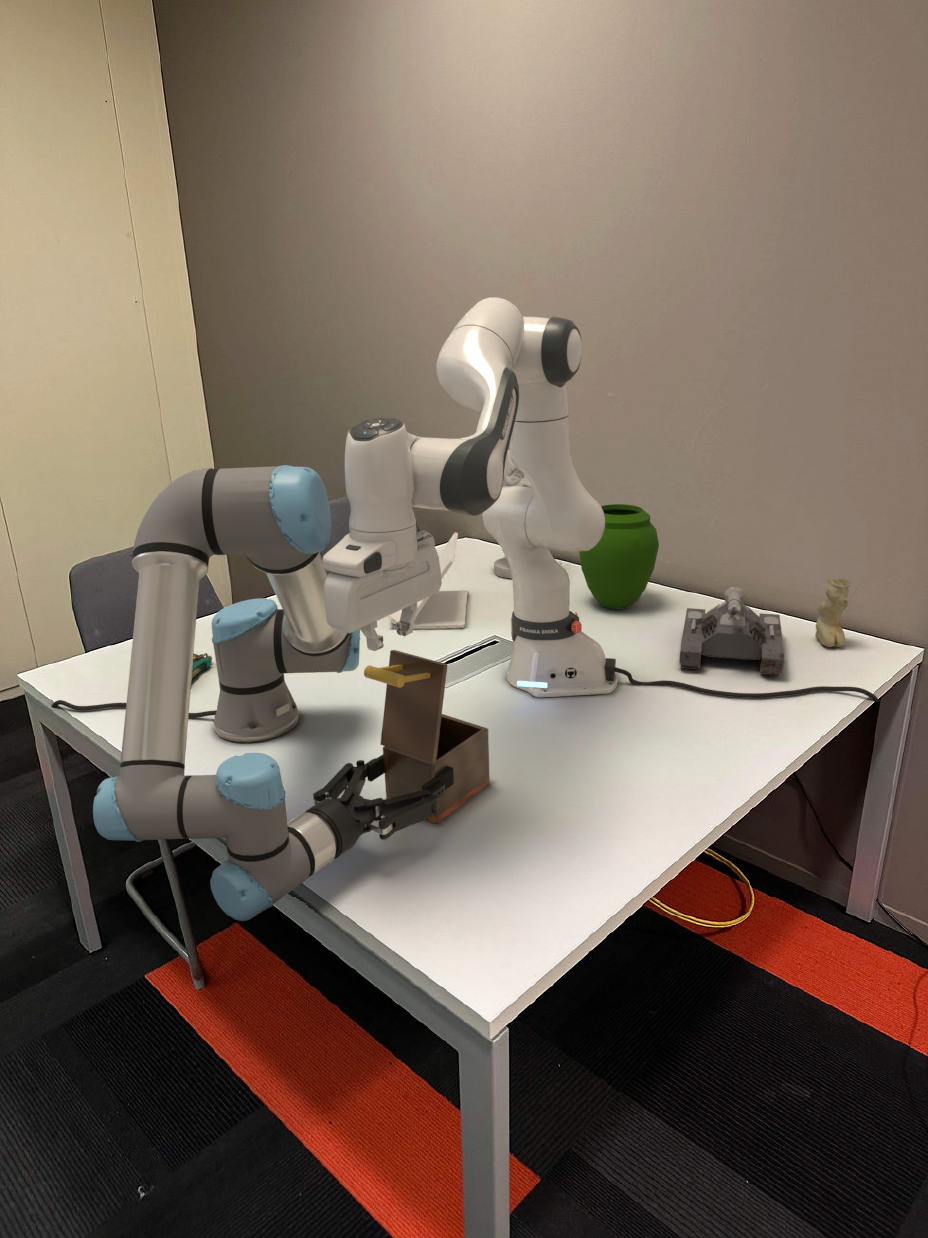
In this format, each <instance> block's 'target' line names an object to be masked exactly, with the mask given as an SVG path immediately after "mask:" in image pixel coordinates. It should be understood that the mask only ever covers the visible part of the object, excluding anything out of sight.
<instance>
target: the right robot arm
mask: <svg viewBox="0 0 928 1238" xmlns="http://www.w3.org/2000/svg"><path fill="white" fill-rule="evenodd" d="M582 357H583V341H582V334H581V331H580V329H579V328H578V327H577V325H576V324H575V323H574V322H573V320H570V319H569V318H565V317H558V316H551V317H550V318H549V317H541V316H540V317H539V316H523V315H522V313H521V311H520V310H519V308H518V307H517V306H516V305H515V304H514V303H512V302H511V301H510V300H508V299H505V298H502V297H499V296H489V297H486V298H483V299H481V300H479V301H478V302H477V303H476V304H474V305H473V306H472V307H471V308H470V309H469V310H468V311H467V312H466V313H465V314H464V315H463V316H462V317H461V318H460V319H459V320H458V322H457V323H456V325H455V326H454V327H453V328H452V330H451V332H450V333H449V335H448V337H447V338H446V340H445V341H444V343H443V344H442V346H441V349H440V350H439V354H438V356H437V359H436V367H435V368H436V369H435V371H436V376H437V380H438V383H439V385H440V387H441V389H442V391H443V392H444V393H445V395H446V396H447V397H448V398H449V399H450V400H451V401H452V402H453V403H454V404H456V405H457V406H459V407H460V408H463V409H464V410H467V411H472V412H475V413H478V414H480V416H479V419H478V423H477V425H476V429H475V432H474V433H473V434H471V435H468V436H466V437H460V438H459V437H458V438H445V437H444V438H443V437H427V436H417V435H415V434H412V433H410V432H409V431H407V427H406V424H405V423H404V422H403V421H402V420H400V419H398V418H393V417H374V418H372V419H366V420H362V421H360V422H357V423H356V424H355V425H353V426H352V427H350V428H349V429H348V431H347V434H346V438H345V439H346V440H345V445H344V447H345V448H344V482H345V483H344V484H345V493H346V497H347V499H348V502H349V506H350V514H349V518H348V531H349V533H347V534H345V535H344V536H343V538H342V539H341V540H340V541H338V543H336V544H335V545H334V546H333V547H332V548H331V549H329V550H328V551H327V552H326V553H325V554H324V555H323V556H322V561H323V567H324V569H325V570H326V572H327V571H328V572H329V573H327V577H326V580H325V584H324V600H325V612H326V619H327V623H328V624H329V625H330V627H331V628H332V629H334V630H337V631H341V632H345V633H352V632H354V631H356V630H358V629H360V632H361V633H362V634H363V636H364V637H365V639H366V640H365V641H366V647H367V649H368V650H370V651H373V652H377V651H379V650H381V649H382V648H384V645H385V644H384V636H383V635H380V634H378V633H377V630H376V629H377V628H378V621H381V620H382V619H384V618H386V617H388V616H390V615H391V614H393V613H395V612H397V611H399V610H401V609H402V613H401V617H400V621H399V622H397V623H396V624H395V627H396V634H397V635H398V636H402V637H406V636H409V635H411V634H412V633H413V631H414V629H413V627H412V622H413V620H414V617H415V614H416V611H417V602H419V601H421V600H423V599H425V598H427V597H430V596H432V595H434V594H436V593H438V592H439V591H441V587H442V584H443V578H441V569H440V563H439V557H438V556H439V554H438V553H439V552H438V550H437V548H436V543H435V542H436V541H435V537H434V536H433V535H432V534H431V533H430V532H428V531H427V530H421V531H418V532H417V519H416V515H415V513H414V509H413V508H418V509H426V510H436V511H437V510H438V511H448V512H452V513H456V514H457V513H458V514H463V515H467V516H473V517H476V516H480V515H481V518H482V519H481V520H482V523H483V526H484V528H485V530H486V531H487V532H488V533H489V534H490V535H491V536H492V537H493V539H495V541H496V542H497V543H498V545H499V547H500V548H501V550H502V552H503V554H504V558H505V557H506V559H507V561H508V564H509V567H510V571H511V575H512V578H511V580H512V581H511V582H512V594H513V596H512V597H513V611H512V612H511V618H510V635H511V640H512V645H511V646H512V647H511V655H510V660H509V665H508V669H507V672H506V675H505V678H506V681H507V683H509V684H510V685H511V686H513V687H515V688H517V689H519V690H522V691H525V692H527V693H529V694H530V695H531V696H533V697H535V698H556V697H572V696H573V697H574V696H588V695H589V696H590V695H591V696H592V695H607V694H611V693H612V692H613V691H615V690H616V688H617V686H618V674H622V675H624V676H626V677H627V679H628V681H629V683H630V684H632V685H634V686H649V687H650V686H652V687H653V686H654V687H655V686H672V687H679V688H683V689H687V690H690V691H693V692H698V693H701V694H707V695H714V696H720V697H726V698H727V697H729V698H739V699H740V698H741V699H742V698H743V699H766V698H776V697H777V698H778V697H787V696H796V695H800V694H801V695H803V694H808V693H814V692H852V693H853V692H854V693H858V694H863V695H865V696H867V698H870V699H871V700H872V701H873V702H876V703H878V702H880V699H879V698H878V697H877V696H876V695H875V693H874V694H873V692H871V691H869V690H868V689H865V688H863V687H857V686H829V685H828V686H826V685H825V686H823V685H822V686H810V687H805V688H800V689H793V690H783V691H781V690H780V691H776V692H775V691H774V692H755V693H754V692H734V691H733V692H732V691H724V690H716V689H709V688H704V687H699V686H696V685H691V684H688V683H685V682H679V681H675V680H667V679H666V680H663V679H662V680H654V681H653V680H652V681H639V680H636V679H634V678H633V675H632V673H631V672H629V671H628V670H626V669H624V668H621V667H616V665H617V658H609V657H606V654H605V651H604V648H603V647H602V645H601V644H600V643H599V642H598V641H596V640H595V639H593V638H591V637H590V636H589V635H587V634H586V633H585V632H583V631H582V630H583V626H582V625H583V624H582V622H581V621H580V616H579V615H578V612H577V611H575V613H574V612H573V611H571V610H570V590H571V589H570V586H571V585H570V584H571V581H570V576H569V574H568V572H567V571H566V569H565V568H564V567H563V566H562V565H561V564H560V563H559V562H558V561H557V560H556V558H555V557H554V556H553V554H552V553H551V550H554V551H558V552H565V553H570V552H571V553H573V552H579V551H588V550H591V549H592V548H593V547H595V546H596V545H597V543H598V542H599V541H600V539H601V537H602V535H603V533H604V529H605V516H604V512H603V510H602V507H601V506H602V505H601V504H600V502H598V501H597V500H596V499H595V498H593V496H592V495H591V494H590V493H589V492H588V491H587V489H586V488H585V486H584V484H583V483H582V481H581V479H580V477H579V475H578V473H577V470H576V468H575V465H574V461H573V458H572V457H573V456H572V449H571V438H570V437H571V435H570V412H569V411H570V410H569V397H568V396H569V395H568V388H567V382H569V381H571V380H572V379H573V378H574V377H575V375H576V374H577V373H578V372H579V370H580V366H581V363H582ZM508 450H510V457H511V460H512V462H513V464H514V465H515V466H516V467H517V468H518V469H519V470H520V471H522V472H523V473H524V474H525V475H526V477H527V478H528V479H529V481H530V483H531V485H532V487H533V488H530V487H523V486H509V487H502V485H503V478H504V468H505V460H506V456H507V452H508Z"/></svg>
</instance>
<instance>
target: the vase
mask: <svg viewBox="0 0 928 1238" xmlns="http://www.w3.org/2000/svg"><path fill="white" fill-rule="evenodd" d="M600 506H601V507H602V510H603V512H604V516H605V529H604V533H603V535H602V537H601V539H600V541H599V542H598V543H597V545H596V546H595V547H593V548H592V549H591V550H588V551H578V554H579V562H580V569H581V571H582V574H583V577H584V580H585V583H586V585H587V588H588V590H589V591H590V594H592V597H593V598H594V600H595V601H596V602H597V603H598V604H599V605H600V606H602V607H604V608H606V609H609V610H625V609H628V608H630V607H632V606H634V604H636V602H638V601H639V599H640V597H641V596H642V595H643V593H644V592H645V590H646V588H647V586H648V584H649V581H650V579H651V577H652V574H653V572H654V570H655V566H656V562H657V557H658V552H659V548H660V544H659V543H660V542H659V537H658V531H657V528H656V527H655V526H654V524H653V523H652V522H651V515H650V514H649V512H647V511H645V510H644V509H643V508H642V507H641V506H638V505H633V504H622V503H621V504H619V503H616V504H615V503H614V504H604V505H600Z"/></svg>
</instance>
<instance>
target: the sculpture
mask: <svg viewBox="0 0 928 1238" xmlns="http://www.w3.org/2000/svg"><path fill="white" fill-rule="evenodd" d="M826 581H827V586H826V588H825V590H824V593H825V595H826V596H827V598H826V600H824V601H822V602H821V603H820V604H819V605H818V606H817V609H816V610H817V612H818V614H819V616H818V617H817V619H816V623H815V630H816V631H815V634H814V635H815V639H817V640H819V642H820V643H821V644H822V645H823V646H825V647H827V648H832V647H834V646H835V647H843V646H844V645H845V643H846V642H845V641H846V636H845V632H844V630H843V626H842V624H841V622H840V621H841V617H842V615H843V612H844V610H845V609H846V608H847V606H848V604H849V603H848V602H849V601H847V598H848V597H849V592H850V586H851V585H852V582H850V580H848V579H847V578H845V577H841V576H840V577H835V578H831V577H827V578H826Z"/></svg>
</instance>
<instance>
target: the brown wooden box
mask: <svg viewBox="0 0 928 1238" xmlns="http://www.w3.org/2000/svg"><path fill="white" fill-rule="evenodd" d="M489 753H490V746H489V728H488V727H484V726H482V725H479V724H476V723H473V722H469V721H466V720H462V719H459V718H456V717H454V716H450V715H447V714H444V713H442V716H441V725H440V733H439V742H438V750H437V758H436V762H435V763H430V762H427V761H424V760H422V759H419V758H416V757H413V756H411V755H408V754H405V753H402V752H400V751H397V750H394V749H391V748H388V747H386V746H382V755H383V758H384V772H385V773H384V785H385V799H389V798H393V797H397V796H401V795H405V794H409V793H413V792H417V791H421V790H422V785H424V784H425V783H427V782H428V781H429V780H431V779H432V778H434V777H435V776H437V775H438V774H440V773H441V772H442V771H444V770H445V769H447V768H448V767H452V768H453V774H454V784H453V785H451V786H450V787H449V788H447V789H446V790H445V793H444V794H443V795H441V796H440V797H439V798H438V799H437V803H438V813H437V814H435V815H433V816H431V817H428V818H426V819H425V820H426V821H429V822H431V823H433V824H435V825H438V824H439V823H441V822H442V821H444V819H446V818H447V817H448V816H449V815H451V814H452V813H454V812H455V811H456V810H458V809H459V808H460V807H461V806H463V805H464V804H465V803H467V802H468V801H469V800H470V799H472V798H473V797H474V796H476V794H478V793H479V792H480V791H482V790H483V789H484V788H485V787H487V786H488V785H489V784H491V783H490V782H491V779H490V778H491V777H490V754H489Z"/></svg>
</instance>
